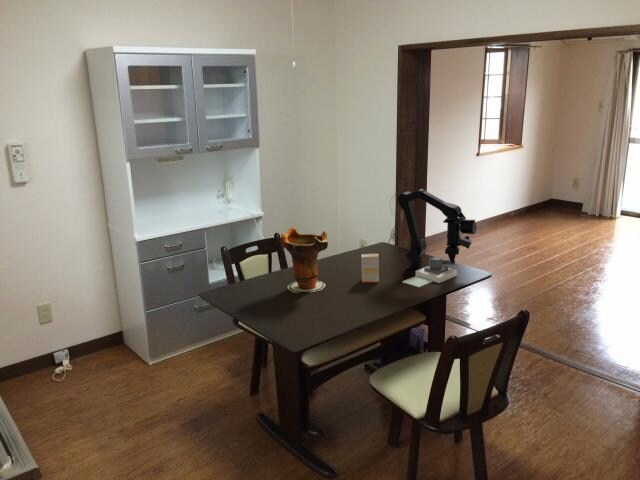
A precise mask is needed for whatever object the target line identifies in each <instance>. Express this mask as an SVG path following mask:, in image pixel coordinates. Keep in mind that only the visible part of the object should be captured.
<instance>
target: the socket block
mask: <svg viewBox="0 0 640 480" xmlns="http://www.w3.org/2000/svg"><path fill="white" fill-rule="evenodd" d="M426 267H428V265H427V266H426ZM424 268H425V267H423V268H422V269H419V270H417V271H415V276H417V277H420V278H424V279H427V280H431V281H433V282H435V283H438V284H440V283H442V282H445V281H448V280H450V279H452V278H455V277H456V276H458V270H457V269H455V268H454V269H453V268H450V267H448V271H445V272H443V273H440V274H434V273H431V272H427V271H424ZM415 276H414V277H415Z"/></svg>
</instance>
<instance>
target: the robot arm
mask: <svg viewBox="0 0 640 480" xmlns="http://www.w3.org/2000/svg"><path fill="white" fill-rule="evenodd" d="M418 199H420V200H422V201H423V202H425V203H427V204H429V205H431V206H432V207H434V208H436V209H437V210H439V211H441V213H442V214H443V216H445V219H444V220H443V222H442V223H443V224H446V226H447V229H446V247H445V249H444V254H445V255H447V257H448V258H449V259H448V260H450V261H451V263H452V264H454V260H455V261H456V255H459V254H460V249H461V248H460V246H461V247H463V248H466V249H467V250H468V249H470V247H471V245H472V242H473V241H472V240H471V239H470V236H469V235H475V234H476V232H477V228H478V226H477V222H476V220H475V219H466V218H467V217H466V216H465V214H464V213H463V212H462V207H461V206H459V205H457V204H454V203H450V202H446V201H444V200H442V199H440V198H439V197H437V196H436V195H434V194H432V193H430V192H429V191H426V190H425V189H424V188H420V189H418V190H414V191H405V192H402V193H400V194H399V195H398V196H397V202H398V205H399V207H400V208H401V210H402V211H403V212H404V213H403V214H404V217H405V221H406V224H407V225H406V226H407V229H408V233H409V237H410V243H409V251H408V252H407V253H406V254H405V256H406V259H407V266H406V267H405V269H407V270H410V271H414V272H416V271H417V270H419V269H422V268H424V267H423V260H422V257H421V256H423V255H424V253H425V252H426V251H427V246H428V245H427V243H426V238H422V236H421V235H420V232H419V231H420V230H419V227H418V223H417V218H416V215H415V210H414V205H415V204H414V203H415V200H418ZM461 234H464V235H465V234H466V236H461Z"/></svg>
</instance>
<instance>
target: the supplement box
mask: <svg viewBox="0 0 640 480" xmlns="http://www.w3.org/2000/svg"><path fill="white" fill-rule="evenodd" d="M360 257H361V259H360V260H361V283H379V282H380V265H379V263H380V262H379V261H380V260H379V258H380V257H379V253H362V254H361V256H360Z"/></svg>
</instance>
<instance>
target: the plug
mask: <svg viewBox="0 0 640 480" xmlns="http://www.w3.org/2000/svg"><path fill="white" fill-rule="evenodd" d="M442 259H443V258H441V257H438V256H434V257H432V258H431V259H430V266H428V265H427V266H428V267H427V266H425V267H423V268H424V271H427V272H431V273H434V274H440V273H443V272H445V271H448V268H449V267H447V266H445V265H443V264H442Z"/></svg>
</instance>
